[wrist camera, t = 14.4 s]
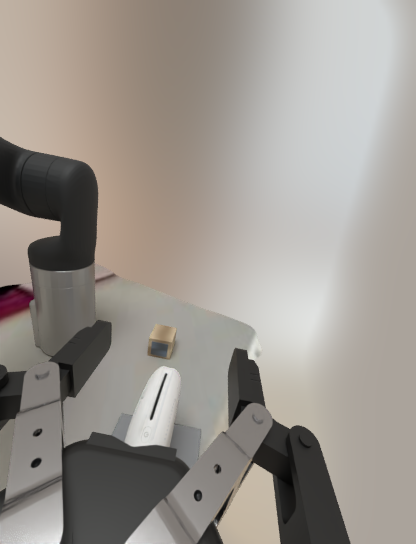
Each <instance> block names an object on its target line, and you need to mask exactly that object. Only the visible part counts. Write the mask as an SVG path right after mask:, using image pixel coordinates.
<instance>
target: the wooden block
mask: <svg viewBox="0 0 416 544" xmlns="http://www.w3.org/2000/svg"><path fill="white" fill-rule="evenodd" d="M176 330H177V328H173V327H168V326H163V325H158V324H156V325H155V327H154V329H153V331H152V333H151V335H150V337H149V345H148V355H149V356H154V357H159V358H164V359H170V356H171V353H172V350H173V347H174V343H175V336H176Z"/></svg>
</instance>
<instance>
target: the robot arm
mask: <svg viewBox="0 0 416 544" xmlns="http://www.w3.org/2000/svg"><path fill="white" fill-rule="evenodd" d="M0 204H2V205H4V206H7V207H9V208H11V209H14V210H16V211H18V212H21V213H23V214H26V215H29V216H33V217H38V218H44V219H49V220H55V221H61V231H60V236H53V237H47V238H43V239H39V240H37V241H34V242H33V243H31V244H30V245H29V247H28V258H29V265H30V271H31V279H32V285H33V293H34V300H32V301H31V302H30V304H29V305H30V312H31V318H32V325H33V331H34V338H35V345H36V346H39V347H41V349H42V350H43V352H44V353H46V354H47V355H50V356H53V357H52V358H51V359H50V360H49V361H48V362H42V363H39V364H37V365H35V366H33V367H31V368H30V369H29V370H28V371H21V372H7V369H6V367H5V366H3V365H0V430H1V429H2V428H3V427H4V425H5V424H6V423H7V422H8V421H9V420H10V419H15V418H16V420H15V427H14V435H13V442H12V450H11V457H10V465H9V472H8V480H7V487H6V488H5V489H4V490H2V491H1V492H0V544H223V542H222V539H221V537H220V535H219V532H218V530H217V526H218V525H219V523H220V521H221V520H222V518H223V516H224V514H225V513H226V511H227V509H228V508H229V506H230V504H231V502H232V500H233V498H234V496H235V494H236V493H237V491H238V489H239V488H240V486H241V484H242V483H243V481H244V479H245V478H246V476H247V474H248V473H249V471H250V469H251V468H252V466H253V464H254V463H256V464H257V465H259V466H260V467H262V468H264V469H266V470H267V471H269V472H270V473H272V474H273V482H274V490H275V499H276V508H277V516H278V525H279V533H280V542H281V544H350V541H349V537H348V534H347V531H346V528H345V524H344V521H343V518H342V515H341V512H340V508H339V505H338V502H337V499H336V496H335V493H334V489H333V486H332V483H331V480H330V476H329V473H328V470H327V467H326V464H325V460H324V457H323V454H322V451H321V448H320V444H319V442H318V440H317V439H316V437H315V436H314V434H313V433H311V431H309V430H308V429H306V428H305V427H302V426H294V427H292V428H291V429H289V428H287V427H285V426H283V425H281V424H279V423H278V422H276V421H275V420H274V419H272V416H271V414H270V413H269V411H268V410H267V409H266V407H265V402H264V396H263V391H262V385H261V380H260V374H259V368H258V366H257V365H256V363H255V361H254V360H249V359H248V354H247V350H243V349H238V348H235V349H234V352H233V355H232V359H231V362H230V366H229V371H228V409H229V428H228V430H227V431H226V432H221V433H220V434H219V435H218V437H217V438H216V439H215V440H214V441H213V443H212V444H211V445H210V446H209V447H208V448H207V450H206V451H205V452H204V453H203V454H202V456H201V457H200V458H199V459H198V460H197V462H196V463H195V464H194V465H193V466H192V467H191V469H190V468H189V467H188V465H187V464H186V463H185V462H183V461H182V460H181V459H179V458H178V457H176V452H177V449H175V448H170V447H165V446H160V445H148V446H137V447H133V446H130V445H128V444H127V443H125V442H123V441H121V440H119V439H118V438H116V437H114V436H111V435H106V434H101V433H96V432H92V434H91V436H90V438H89V439H88V440H82V441H78V442H75V443H73V444H71V445H68V446H66V447H65V436H64V415H63V401H64V400H65V399H66V397H67V396H69V397H74V398H75V397H76V395H77V394H78V393H79V391H80V390H81V388H82V387H83V386H84V384H85V383H86V381H87V380H88V379H89V377H90V376H91V374H92V373H93V371H94V370H95V369H96V367H97V366H98V364H99V363H100V362H101V360H102V359H103V357H104V356H105V355H106V353H107V352H108V350H109V348H110V345H111V322H106V321H101V320H98V321H96V312H95V262H94V260H95V259H94V254H95V247H96V238H97V237H96V235H97V208H98V186H97V180H96V177H95V174H94V172H93V170H92V169H91V168H90V166H89V165H87V164H86V163H84V162H81V161H77V160H73V159H69V158H64V157H59V156H54V155H49V154H44V153H39V152H34V151H30V150H26V149H23V148H21V147H18V146H16V145H14V144H12V143H10V142H8V141H6V140H4V139H3V138H1V137H0Z"/></svg>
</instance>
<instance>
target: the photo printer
mask: <svg viewBox="0 0 416 544" xmlns="http://www.w3.org/2000/svg"><path fill="white" fill-rule="evenodd" d="M180 390H181V377H180V374H179V373H178V372H177V371H176V370H175V369H174V368H168V367H166V366H162V367H160V368H158V369H157V370H156V371H155V372H154V373H153V374H152V376H151V377H150V378H149V380H148V382H147V384H146V386H145V388H144V390H143V393H142V395H141V397H140V399H139V402H138V404H137V406H136V409H135V411H134V414H133V417H132V419H131V422H130V425H129V428H128V431H127V435H126V438H125V441H124V442H125V443H127V444H128V445H130V446H133V447H137V446H148V445H160V446H165V447H170V443H171V438H172V433H173V428H174V423H175V417H176V412H177V406H178V401H179V396H180Z"/></svg>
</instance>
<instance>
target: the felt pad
mask: <svg viewBox="0 0 416 544" xmlns="http://www.w3.org/2000/svg"><path fill="white" fill-rule="evenodd" d="M132 417H133V415H128V414H123V413H122V414H121V416H120V418H119V421H118V423H117V425H116V427H115V429H114V432H113V434H112V436H114V437H116V438H118V439H119V440H121V441H123V442H124V441H125V438H126V435H127V431H128V428H129V425H130V422H131V419H132ZM200 435H201V429H197V428H192V427H187V426H182V425H177V424H174V428H173V433H172V438H171V443H170V448H175V449H177V452H176V457H178V458H179V459H181V460H182V461H183V462H185V463H186V464H187V465H188V467H189V468H190V469H191V467H192V466H193V465H194V464H195V463H196V462H197V460H198V455H199V445H200Z"/></svg>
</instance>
